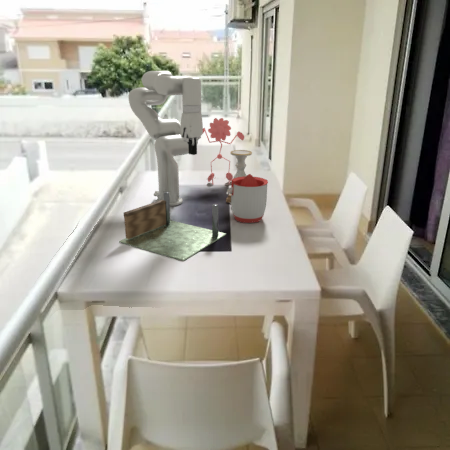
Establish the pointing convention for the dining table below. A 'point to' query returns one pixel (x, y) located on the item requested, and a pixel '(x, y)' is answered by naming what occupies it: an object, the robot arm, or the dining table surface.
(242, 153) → the candle holder
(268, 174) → the dining table surface
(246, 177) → the citrus juicer
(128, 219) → the gate
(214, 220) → the gate frame
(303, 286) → the dining table surface
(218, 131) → the figurine
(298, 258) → the dining table surface
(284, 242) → the dining table surface
